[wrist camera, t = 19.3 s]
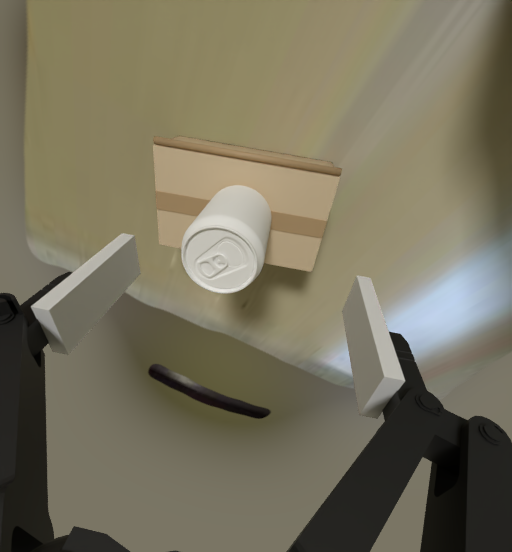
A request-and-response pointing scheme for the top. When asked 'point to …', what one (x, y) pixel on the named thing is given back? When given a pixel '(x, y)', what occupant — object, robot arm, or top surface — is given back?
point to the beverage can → (228, 240)
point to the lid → (261, 177)
